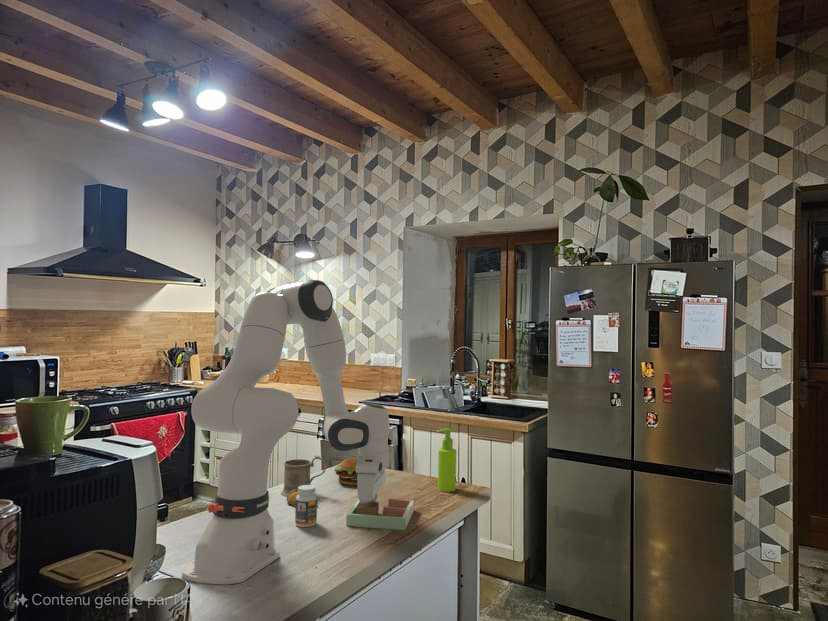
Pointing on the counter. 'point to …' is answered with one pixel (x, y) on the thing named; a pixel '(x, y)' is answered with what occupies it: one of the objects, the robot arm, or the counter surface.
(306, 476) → the mug
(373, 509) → the block
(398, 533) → the counter surface
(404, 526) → the box
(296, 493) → the pastry
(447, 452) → the soap dispenser
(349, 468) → the food
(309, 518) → the pill bottle
